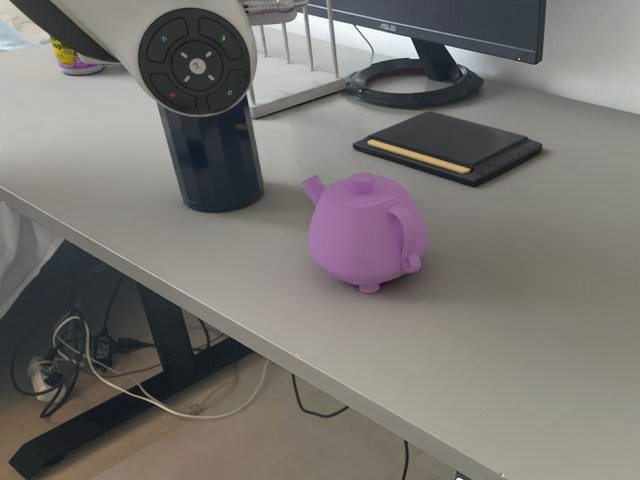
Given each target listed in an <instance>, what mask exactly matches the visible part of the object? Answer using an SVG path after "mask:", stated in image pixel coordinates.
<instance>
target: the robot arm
mask: <svg viewBox="0 0 640 480" xmlns="http://www.w3.org/2000/svg"><path fill="white" fill-rule="evenodd" d="M8 1H9V2H10V3H11V4H12V5H13V6H14V7H15V8H17V9H18V10H19V11H20V13H22V14H23V15H24V16H25V17H26V18H28V19H29V20H30V21H31V22H32V23H33V24H35V25H36V26H37V27H38V28H40V29H41V30H43V31H44V32H45V33H47V34H48V36H49V35H51V36H52V37H54V38H55V39H56V40H58V41H59V42H61V43H62V44H64V45H66V46H67V47H69V48H70V49H72V50H74V51H75V52H77V54H78V57H79V59H80V61H81V62H83V63H86V64H100V65H104V66H119V67H120V66H122V67H124V68H125V69H126V70H127V71H128V73H129V74H130V75H131V77H132V78H133V79H134V81H135V82H136V84H137V85H138V86H139V87H140V88H141V90H143V92H144V93H145V94H146V95H147V96H149V97H150V98H151V99H152V100H153V101H155V103H156V104H157V103H159V104H160V105H162V106H163V107H165V108H167V109H168V110H170V111H173V112H175V113H178V114H181V115H185V116H191V117H207V116H213V115H217V114H220V113H223V112H225V111H227V110H229V109H230V108H232V107H234V106H235V105H236V104H237V103H239V102H240V101H241V100H242V99H243V98H244V96H245V95H246V94H247V92H248V90H249V89H250V87H251V84H252V82H253V79H254V77H255V73H256V69H257V61H258V54H257V52H258V46H257V41H256V37H255V33H254V30H253V27H259V25H263V26H270V25H281V24H282V23H286V24H287V23H290V22H293V21H295V20H296V18H297V16H298V9H303V8H305V7H307V8H308V6H309V5H308V4H309V0H8Z"/></svg>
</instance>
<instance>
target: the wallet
mask: <svg viewBox="0 0 640 480" xmlns="http://www.w3.org/2000/svg"><path fill="white" fill-rule="evenodd" d="M352 149H353V150H356V151H359V152H361V153H364V154H368V155H371V156H374V157H378V158H381V159H384V160H387V161H391V162H393V163H394V162H395V163H396V164H400V165H404V166H407V167H410V168H414V169H416V170H418V171H423V172H426V173H429V174H432V175H435V176H438V177H442V178H445V179H447V180H451V181H454V182H457V183H460V184H463V185H467V186H470V187H473V188H475V187H477V186H479V185H480V184H482V183H484V182H487V181H489V180H491V179H493V178H495V177H497V176H499V175H501V174H503V173H505V172H507V171H508V170H510V169H512V168H515V167H516V166H518V165H520V164H521V163H524V162H525V161H527V160H529V159H531V158H533V157H535V156H537V155H538V154H540V153H541V152H542V150H543V143H541V142H539V141H537V140H534V139H531V138H529V137H528V136H527V135H523V134H519V133H515V132H511V131H508V130H504V129H501V128H498V127H497V128H496V127H493V126H489V125H484V124H481V123H477V122H473V121H470V120H465V119H462V118H459V117H458V118H457V117H455V116H454V117H453V116H450V115H447V114H443V113H440V112H436V111H432V110H428V111H424V112H422V113H420V114H417V115H414V116H412V117H409V118H408V119H405V120H403V121H400V122H398V123H395V124H393V125H391V126H388V127H386V128H383V129H381V130H378V131H376V132H374V133H371V134H368V135H367V136H365V137H363V138H362V139H359V140H357V141H355V142H353V143H352Z"/></svg>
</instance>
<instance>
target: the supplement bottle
mask: <svg viewBox="0 0 640 480" xmlns="http://www.w3.org/2000/svg"><path fill="white" fill-rule="evenodd" d="M48 36H49V40H50V42H51V43H50V44H51V45H52V49H53V51H54V54H55V57H56V60H57V63H58V67H59V70H60V71H61V72H62V73H64V74H66V75H72V76H84V75H91V74H95V73H98V72H100V71H101V70H103V69H104V67H105V65H100V64H86V63H83V62H81V61H80V59H79V57H78V54H77V52H75V51H74V50H72V49H70V48H69V47H67V46H66V45H64V44H62V43H61V42H59V41H58V40H56V39H55V38H54V37H52V36H51V35H49V34H48Z"/></svg>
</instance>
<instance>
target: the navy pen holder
mask: <svg viewBox="0 0 640 480" xmlns="http://www.w3.org/2000/svg"><path fill="white" fill-rule="evenodd" d="M156 107H157V110H158V115H159V117H160V120H161V125H162V128H163V132H164V135H165V139H166V144H167V147H168V152H169V155H170V158H171V162H172V166H173V169H174V174H175V176H176V180H177V185H178V188H179V192H180V195H181V198H182V201H183V204H184V205H185V206H186V207H187V208H189V209H190V210H194V211H198V212H201V213H224V212H232V211H236V210H240V209H244V208H247V207H249V206H251V205H254V204H256V203H257V202H258V201H260V200H261V199H262V198H263V196H264V195H265V192H266V191H265V185H264V184H265V182H264V177H263V172H262V166H261V161H260V157H259V152H258V146H257V141H256V135H255V130H254V124H253V120H252V119H253V118H252V117H251V114H250V108H249V103H248V98H247V94H246V95H245V96H244V98H243V99H242V100H241V101H240V102H239V103H237V104H236V105H235V106H234V107H232V108H230V109H229V110H227V111H225V112H223V113H220V114H217V115H213V116H207V117H191V116H185V115H181V114H178V113H175V112H173V111H170V110H168V109H167V108H165V107H163V106H162V105H160V104H159V103H157V102H156Z"/></svg>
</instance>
